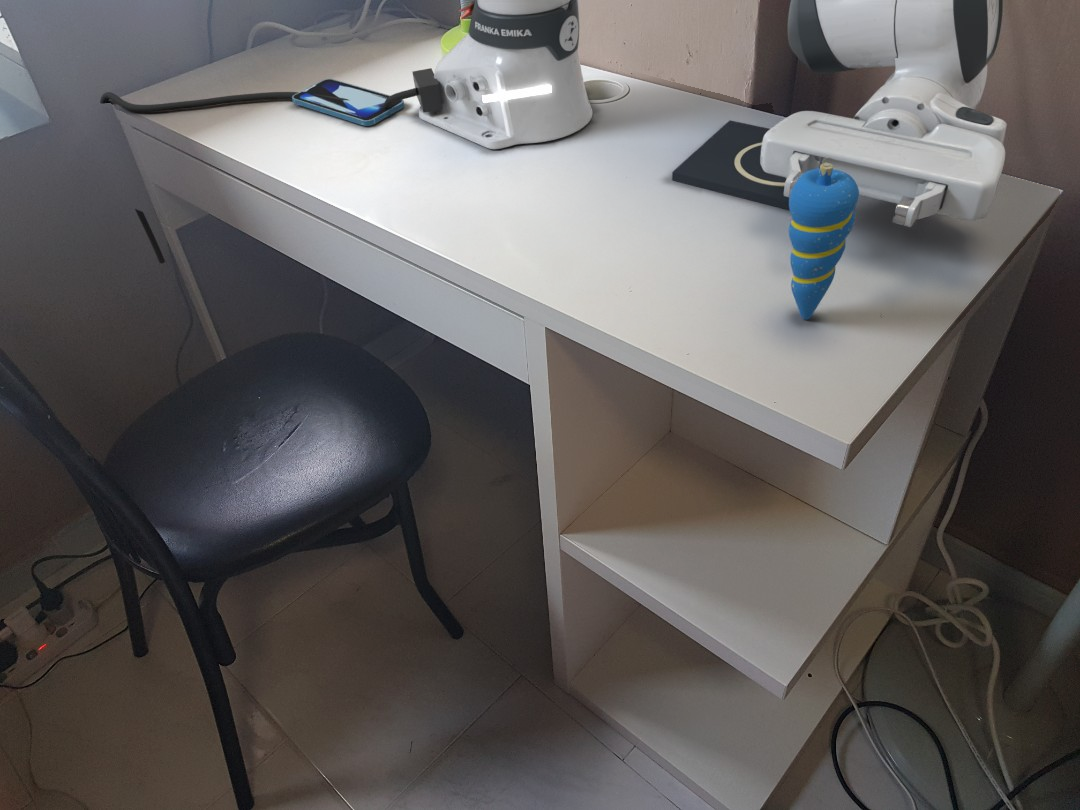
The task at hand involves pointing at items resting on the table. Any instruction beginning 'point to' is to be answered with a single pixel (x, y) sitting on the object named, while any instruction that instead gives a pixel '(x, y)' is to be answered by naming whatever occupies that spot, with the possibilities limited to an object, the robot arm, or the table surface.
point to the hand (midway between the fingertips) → (845, 203)
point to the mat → (734, 166)
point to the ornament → (819, 231)
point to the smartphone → (346, 102)
